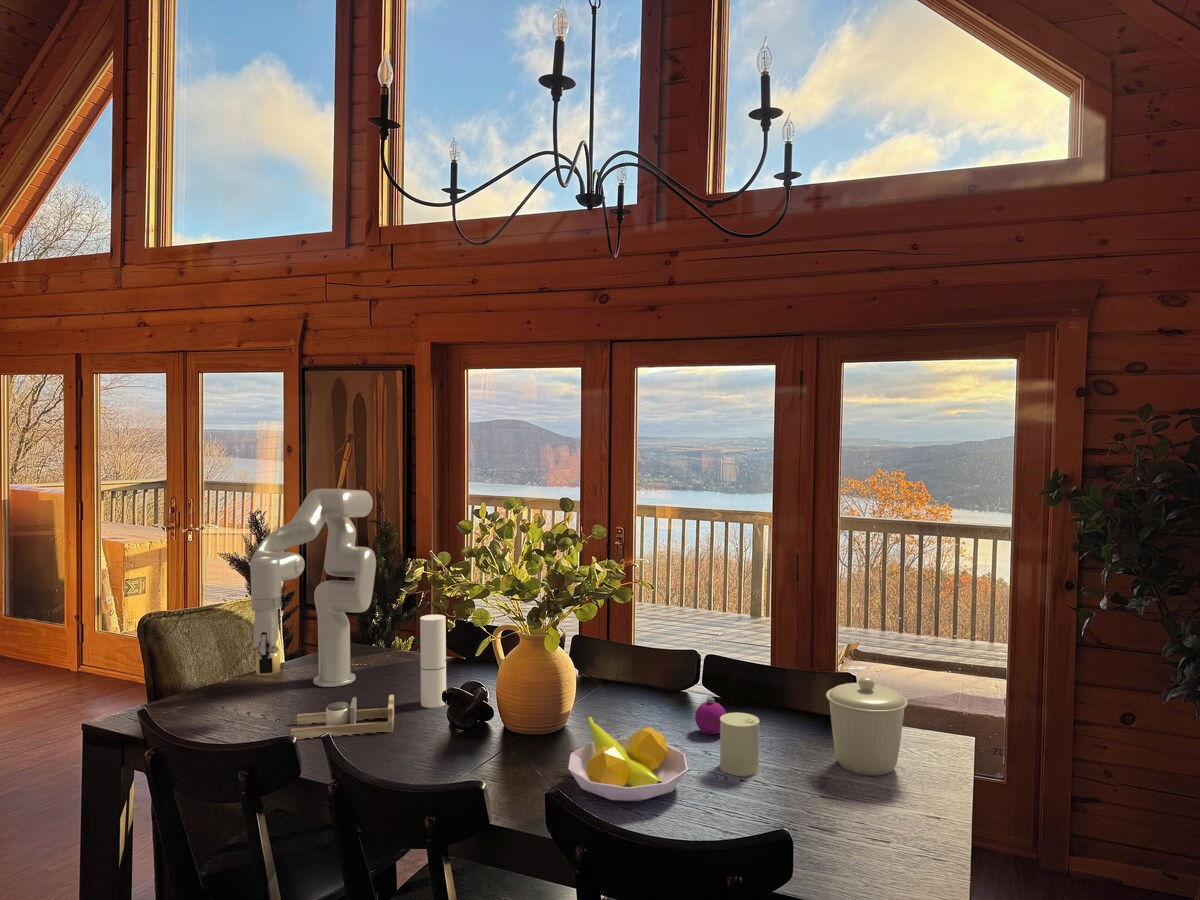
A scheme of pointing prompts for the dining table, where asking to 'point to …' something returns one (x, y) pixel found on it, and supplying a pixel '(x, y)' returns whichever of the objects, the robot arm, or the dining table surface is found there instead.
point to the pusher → (353, 711)
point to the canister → (866, 726)
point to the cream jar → (338, 714)
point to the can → (739, 744)
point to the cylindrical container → (433, 660)
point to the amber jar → (275, 661)
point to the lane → (347, 728)
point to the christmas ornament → (709, 716)
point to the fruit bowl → (627, 765)
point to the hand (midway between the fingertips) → (268, 668)
